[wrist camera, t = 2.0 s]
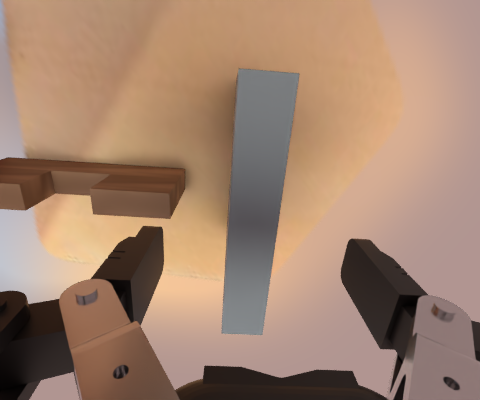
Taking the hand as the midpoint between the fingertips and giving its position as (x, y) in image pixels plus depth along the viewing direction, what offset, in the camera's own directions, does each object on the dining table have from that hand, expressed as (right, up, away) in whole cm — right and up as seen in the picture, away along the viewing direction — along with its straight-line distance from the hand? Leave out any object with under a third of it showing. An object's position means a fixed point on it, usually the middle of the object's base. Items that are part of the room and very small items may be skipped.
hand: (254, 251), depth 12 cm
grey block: (0, +6, +14) cm, 15 cm away
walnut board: (-14, +5, +14) cm, 20 cm away
